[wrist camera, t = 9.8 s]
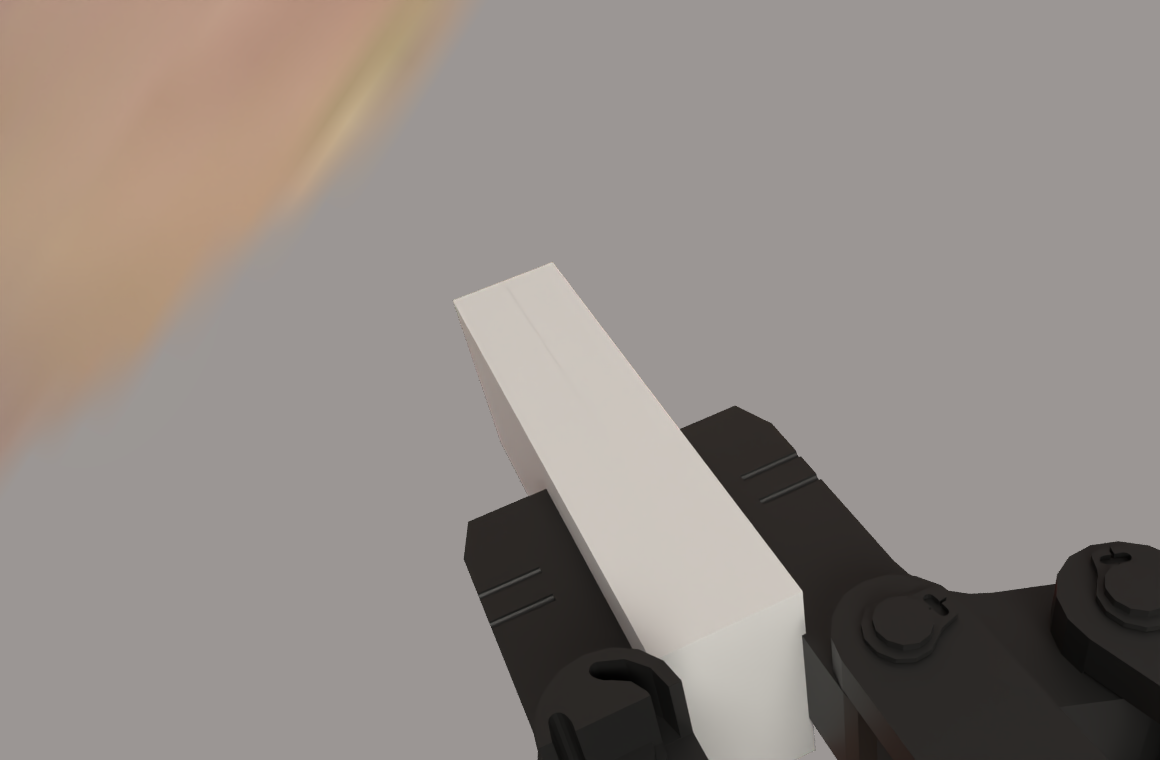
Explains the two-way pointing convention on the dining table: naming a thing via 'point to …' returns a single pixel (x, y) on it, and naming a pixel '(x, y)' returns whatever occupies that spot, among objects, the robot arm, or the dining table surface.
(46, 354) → the dining table surface
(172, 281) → the dining table surface
